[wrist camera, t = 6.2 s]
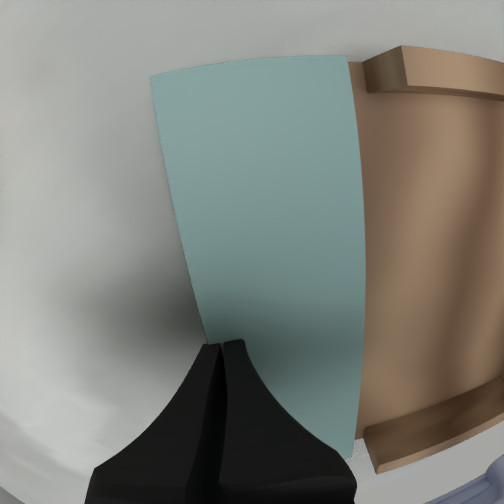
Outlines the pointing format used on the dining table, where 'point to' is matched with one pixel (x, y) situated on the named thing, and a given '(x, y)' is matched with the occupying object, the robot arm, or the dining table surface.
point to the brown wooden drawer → (430, 250)
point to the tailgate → (274, 223)
